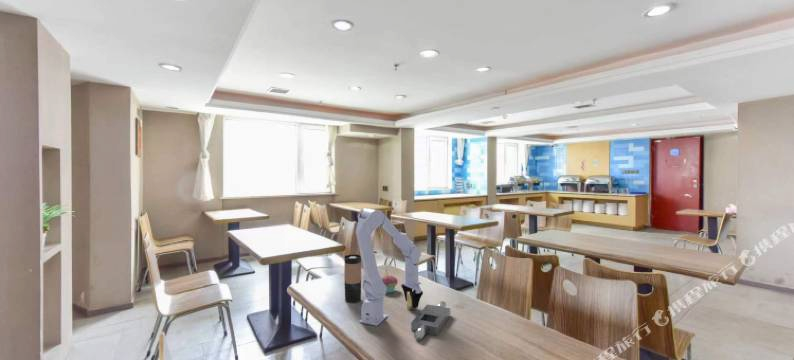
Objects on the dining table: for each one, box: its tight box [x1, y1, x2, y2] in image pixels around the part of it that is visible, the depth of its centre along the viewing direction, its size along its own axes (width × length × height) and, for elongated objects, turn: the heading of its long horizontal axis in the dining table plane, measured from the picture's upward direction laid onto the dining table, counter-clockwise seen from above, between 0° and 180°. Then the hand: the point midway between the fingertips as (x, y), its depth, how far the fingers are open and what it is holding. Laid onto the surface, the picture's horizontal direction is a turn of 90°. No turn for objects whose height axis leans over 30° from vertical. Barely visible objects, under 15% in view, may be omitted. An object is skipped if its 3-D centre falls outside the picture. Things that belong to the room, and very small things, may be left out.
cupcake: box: [381, 268, 398, 294], centre depth 165 cm, size 9×8×12 cm
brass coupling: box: [406, 291, 417, 312], centre depth 144 cm, size 4×4×7 cm
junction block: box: [410, 300, 451, 342], centre depth 131 cm, size 30×10×3 cm, turn 156°
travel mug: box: [343, 253, 362, 304], centre depth 153 cm, size 8×8×20 cm
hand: (411, 304), depth 144 cm, fingers open, 7 cm apart
